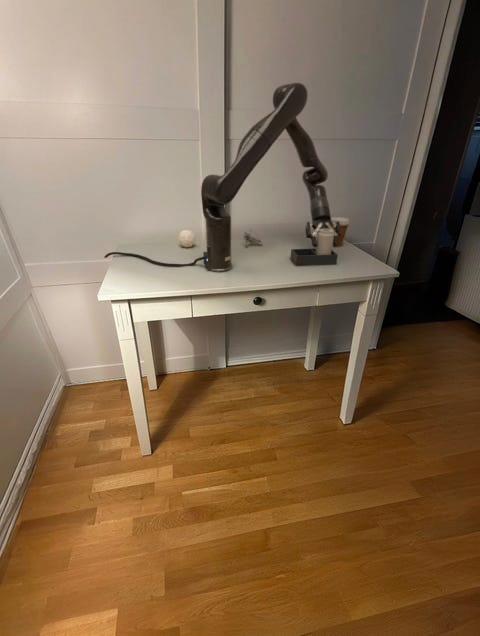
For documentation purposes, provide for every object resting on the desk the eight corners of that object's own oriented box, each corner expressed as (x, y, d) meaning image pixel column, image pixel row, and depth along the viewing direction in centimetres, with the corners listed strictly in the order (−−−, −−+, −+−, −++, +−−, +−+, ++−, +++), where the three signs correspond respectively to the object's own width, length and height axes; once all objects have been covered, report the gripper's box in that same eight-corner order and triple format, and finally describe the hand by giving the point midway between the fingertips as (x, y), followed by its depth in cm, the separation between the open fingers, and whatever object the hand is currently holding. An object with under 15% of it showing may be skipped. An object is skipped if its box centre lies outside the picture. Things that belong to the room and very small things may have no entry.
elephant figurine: (261, 249, 142) (243, 242, 140) (257, 255, 148) (239, 248, 146) (265, 231, 146) (247, 224, 144) (261, 237, 151) (243, 230, 149)
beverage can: (328, 256, 132) (333, 228, 126) (331, 262, 127) (336, 232, 120) (313, 256, 133) (317, 227, 126) (315, 261, 127) (319, 232, 121)
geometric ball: (186, 251, 147) (185, 234, 148) (199, 247, 143) (198, 230, 144) (174, 246, 141) (174, 229, 142) (188, 243, 137) (187, 225, 137)
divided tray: (295, 266, 125) (297, 256, 123) (290, 258, 132) (291, 249, 130) (336, 264, 127) (337, 254, 125) (328, 257, 134) (329, 247, 132)
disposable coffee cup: (339, 248, 143) (344, 222, 137) (321, 244, 149) (324, 218, 143) (348, 244, 150) (353, 218, 143) (330, 240, 155) (334, 215, 149)
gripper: (306, 205, 125) (311, 242, 121) (340, 204, 126) (346, 241, 122) (300, 215, 132) (305, 251, 128) (333, 215, 133) (338, 250, 130)
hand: (325, 246), depth 125 cm, fingers open, 8 cm apart
